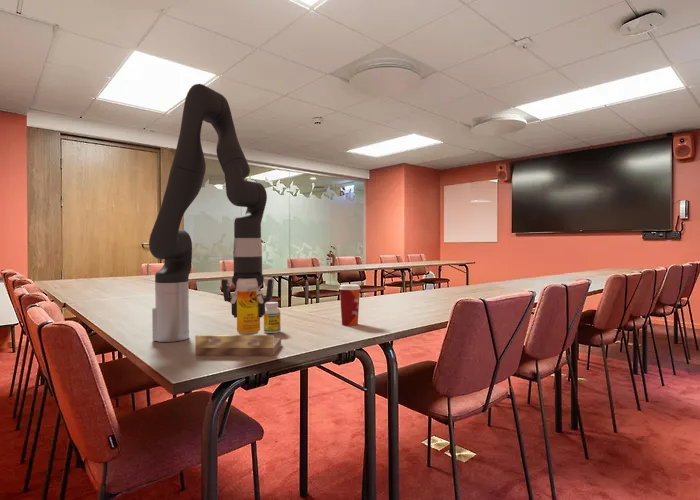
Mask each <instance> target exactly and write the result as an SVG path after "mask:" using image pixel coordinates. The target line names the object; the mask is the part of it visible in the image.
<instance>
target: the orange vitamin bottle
mask: <svg viewBox="0 0 700 500" xmlns="http://www.w3.org/2000/svg"><path fill="white" fill-rule="evenodd" d="M256 288H257V289H258V291H259V292H260V289H261V286H260V287H258V282H257V280H256V278H253V279H239V278H238V281H237V318H236V331H237V333H238V335H258V334H259V332H260V331H261V317H259V301H258V296H256Z"/></svg>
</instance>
